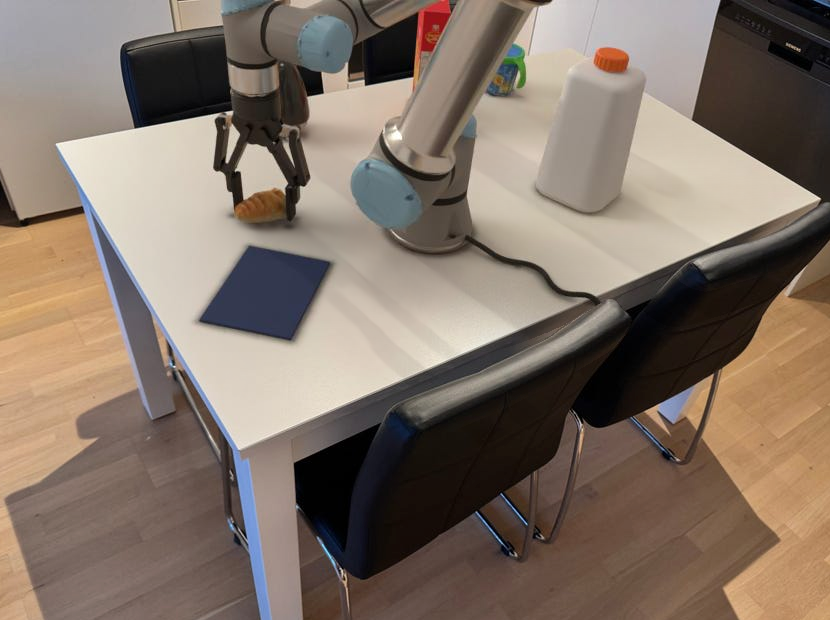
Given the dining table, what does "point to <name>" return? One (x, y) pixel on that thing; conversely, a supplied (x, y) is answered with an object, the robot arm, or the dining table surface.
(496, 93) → the snack cup
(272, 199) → the pastry
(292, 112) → the pump dispenser
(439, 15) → the food packaging
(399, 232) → the robot arm
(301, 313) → the cloth mat
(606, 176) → the plastic bottle
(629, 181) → the dining table surface
